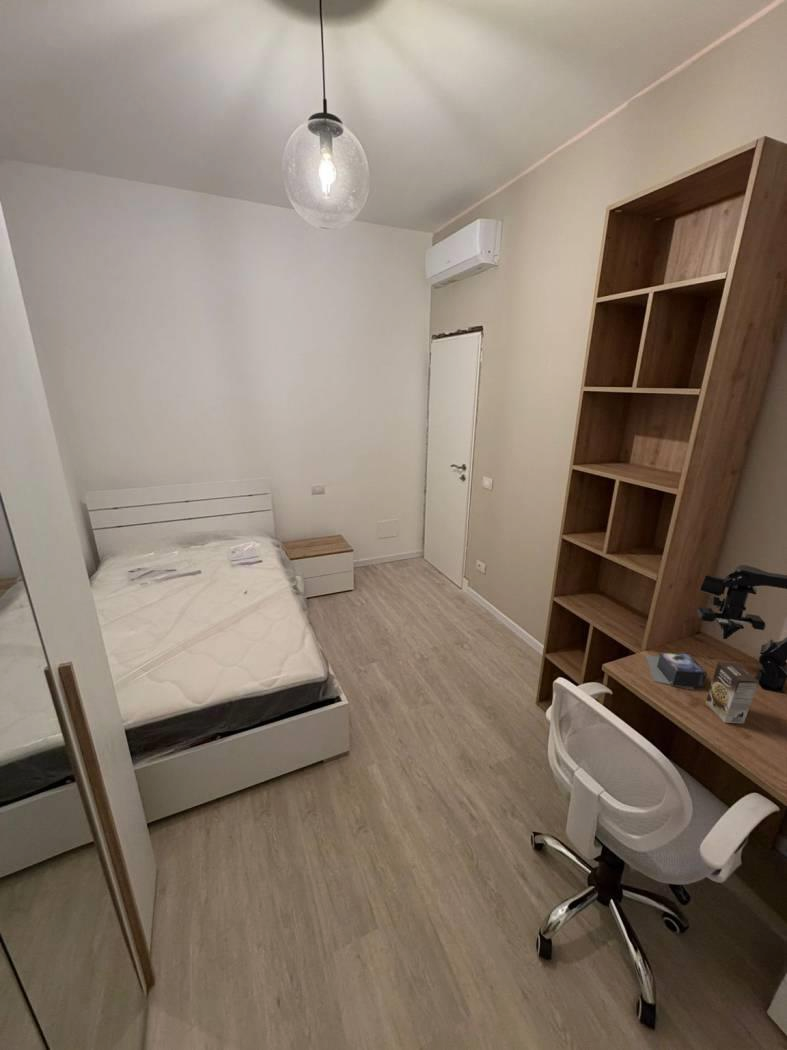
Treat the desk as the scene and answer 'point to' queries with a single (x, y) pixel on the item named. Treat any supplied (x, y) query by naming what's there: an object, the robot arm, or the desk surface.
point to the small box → (681, 669)
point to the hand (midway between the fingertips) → (724, 638)
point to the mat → (657, 674)
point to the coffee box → (731, 692)
